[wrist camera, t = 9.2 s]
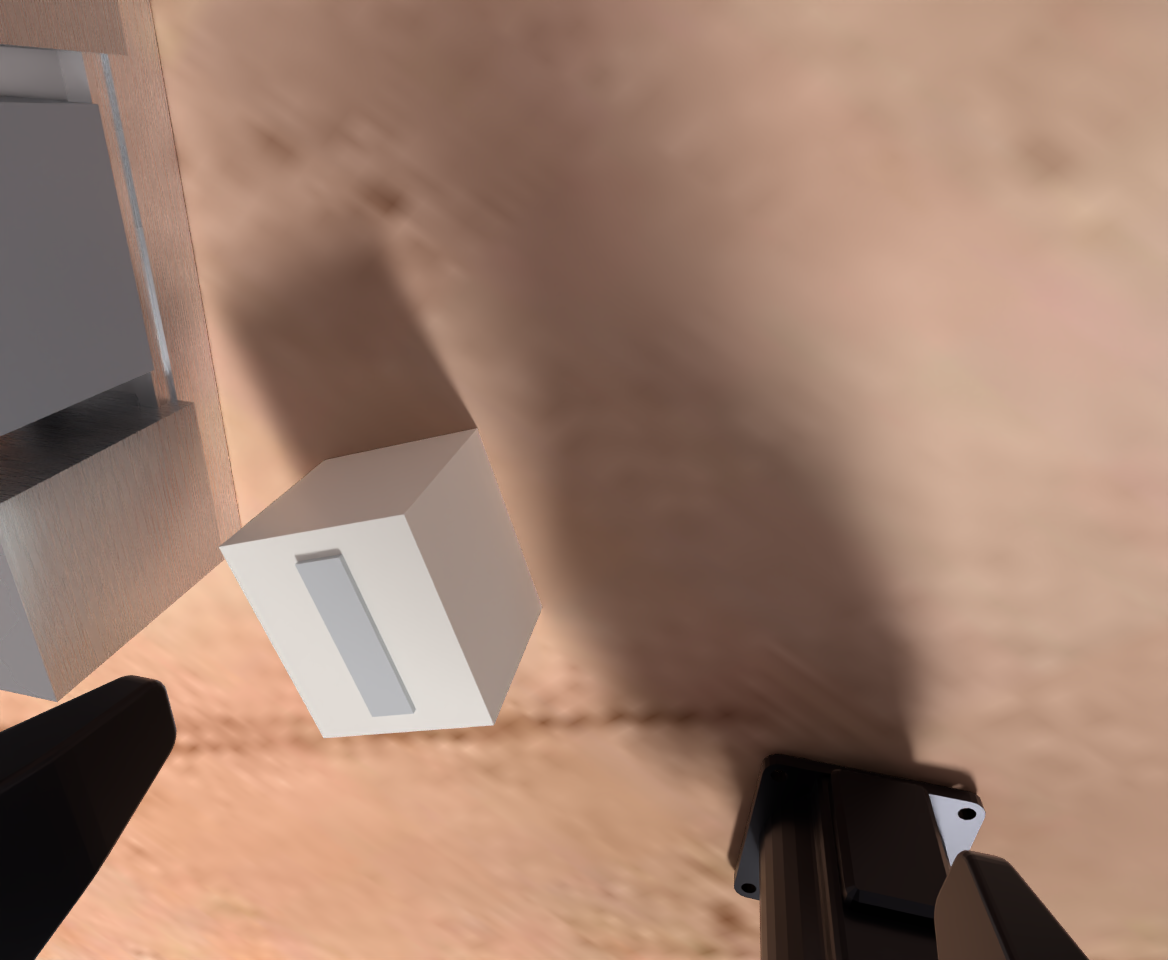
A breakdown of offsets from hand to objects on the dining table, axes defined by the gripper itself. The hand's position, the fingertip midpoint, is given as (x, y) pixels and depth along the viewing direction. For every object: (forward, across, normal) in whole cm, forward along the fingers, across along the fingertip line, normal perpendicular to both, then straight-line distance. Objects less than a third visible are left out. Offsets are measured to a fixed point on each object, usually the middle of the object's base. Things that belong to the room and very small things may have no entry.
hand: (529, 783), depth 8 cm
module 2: (+12, +6, +5) cm, 14 cm away
